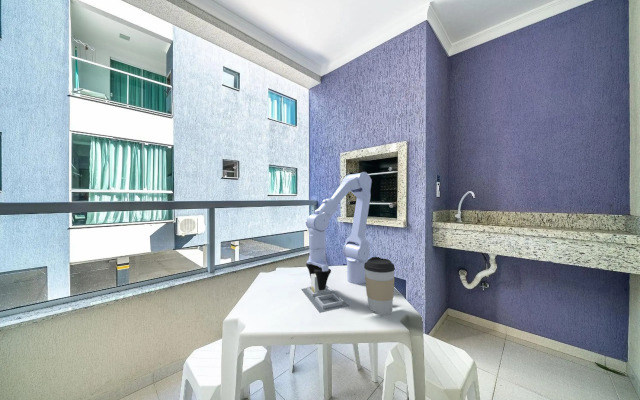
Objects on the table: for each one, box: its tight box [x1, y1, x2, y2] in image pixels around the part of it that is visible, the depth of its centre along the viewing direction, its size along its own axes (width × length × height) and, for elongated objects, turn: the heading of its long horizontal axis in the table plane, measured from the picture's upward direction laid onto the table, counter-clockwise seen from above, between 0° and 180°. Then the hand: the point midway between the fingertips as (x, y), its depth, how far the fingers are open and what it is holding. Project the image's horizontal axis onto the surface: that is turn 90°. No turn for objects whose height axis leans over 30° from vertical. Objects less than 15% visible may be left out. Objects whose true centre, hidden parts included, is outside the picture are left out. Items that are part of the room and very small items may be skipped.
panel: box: [300, 284, 351, 314], centre depth 74 cm, size 10×19×2 cm, turn 22°
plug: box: [310, 273, 326, 293], centre depth 78 cm, size 4×4×7 cm
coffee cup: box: [364, 256, 396, 316], centre depth 67 cm, size 9×9×15 cm
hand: (318, 286), depth 78 cm, fingers open, 7 cm apart
